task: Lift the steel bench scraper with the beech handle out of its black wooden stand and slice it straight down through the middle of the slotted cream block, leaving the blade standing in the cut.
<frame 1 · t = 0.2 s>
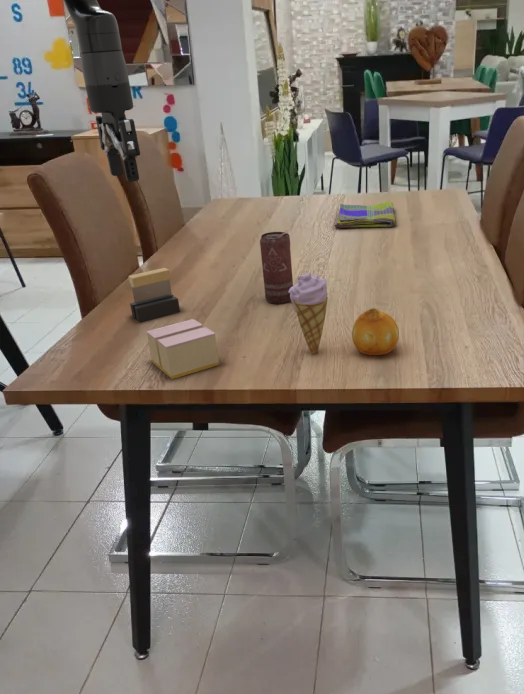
hand: (125, 178, 128), 28 cm above the table, tool pointing down, fingers open, 8 cm apart
stand: (156, 314, 145), on the table
scraper: (156, 314, 145), resting in stand
can: (280, 300, 149), on the table
slotted cream block: (185, 363, 122), on the table
ice cream cone: (312, 353, 124), on the table
fruit: (375, 351, 123), on the table
dish towel: (366, 219, 207), on the table
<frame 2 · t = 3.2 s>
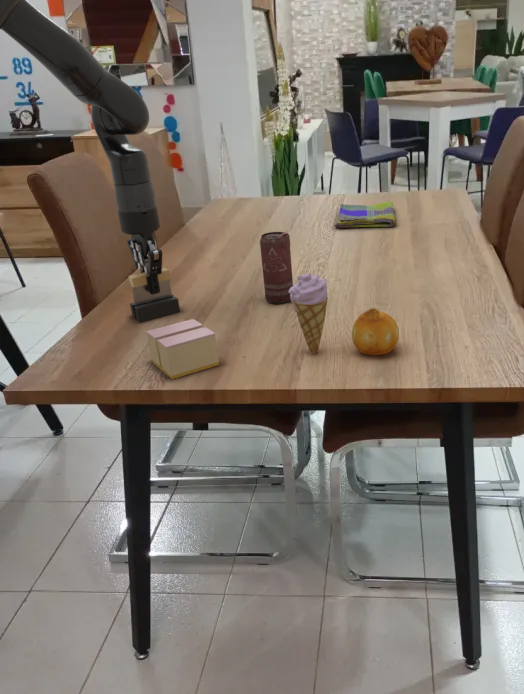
hand: (152, 291, 143), 5 cm above the table, tool pointing down, fingers closed on scraper, 2 cm apart
scraper: (156, 314, 145), resting in stand, touching gripper
everything else where it was.
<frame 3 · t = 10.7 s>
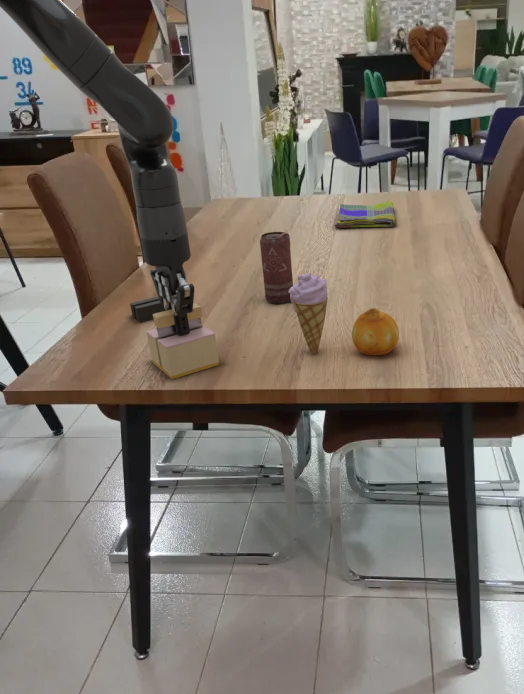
hand: (180, 331, 119), 6 cm above the table, tool pointing down, fingers closed on scraper, 2 cm apart
scraper: (184, 358, 122), point 1 cm above the table, touching gripper
everything else where it was.
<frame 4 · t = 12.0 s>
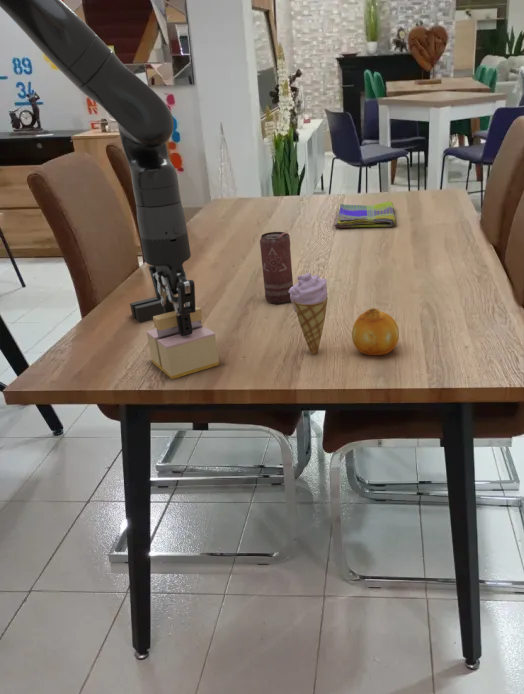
hand: (179, 329, 119), 6 cm above the table, tool pointing down, fingers open, 4 cm apart
scraper: (185, 360, 122), point 1 cm above the table, touching slotted cream block
everything else where it was.
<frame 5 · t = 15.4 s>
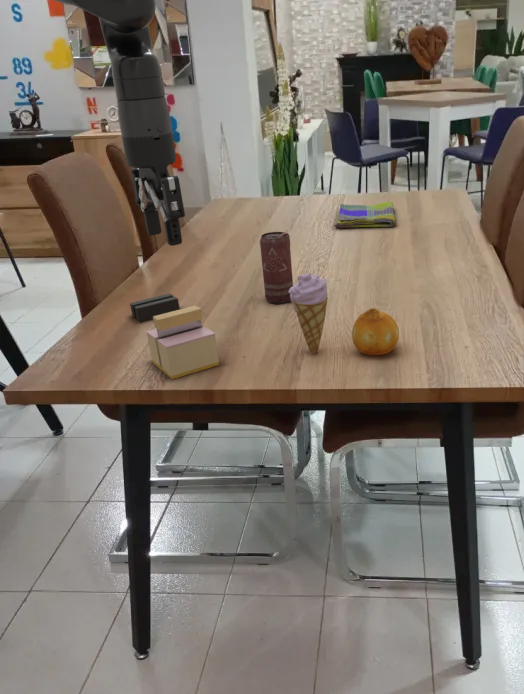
hand: (164, 239, 111), 22 cm above the table, tool pointing down, fingers open, 8 cm apart
nothing on the table moved.
at the end: scraper 0.0 cm off-centre on the slotted cream block, point 0.6 cm above the slotted cream block's base; scraper tilted 0°; the gripper is holding nothing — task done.
